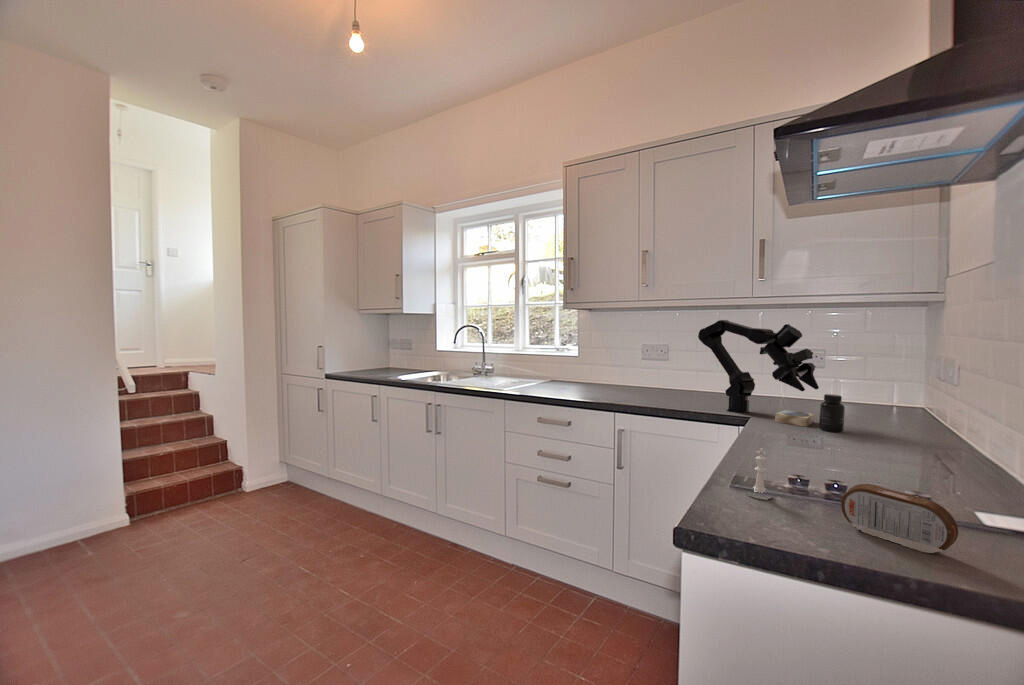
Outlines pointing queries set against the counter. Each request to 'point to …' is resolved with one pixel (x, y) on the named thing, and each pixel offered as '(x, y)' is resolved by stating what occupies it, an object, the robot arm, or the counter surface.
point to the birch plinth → (794, 418)
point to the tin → (900, 515)
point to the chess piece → (760, 472)
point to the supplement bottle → (832, 414)
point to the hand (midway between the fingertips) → (810, 389)
